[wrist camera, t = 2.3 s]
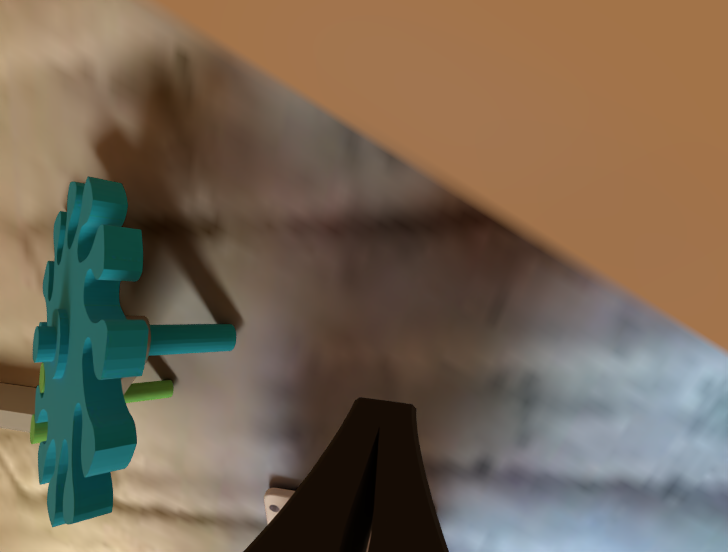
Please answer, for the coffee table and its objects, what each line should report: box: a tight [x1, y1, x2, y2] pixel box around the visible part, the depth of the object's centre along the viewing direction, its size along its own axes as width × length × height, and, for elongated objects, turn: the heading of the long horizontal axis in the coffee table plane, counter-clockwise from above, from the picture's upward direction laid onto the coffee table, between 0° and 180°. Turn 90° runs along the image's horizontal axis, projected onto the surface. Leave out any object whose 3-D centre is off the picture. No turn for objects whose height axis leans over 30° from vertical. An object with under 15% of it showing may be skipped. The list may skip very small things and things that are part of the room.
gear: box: [30, 177, 236, 527], centre depth 14 cm, size 11×6×10 cm
